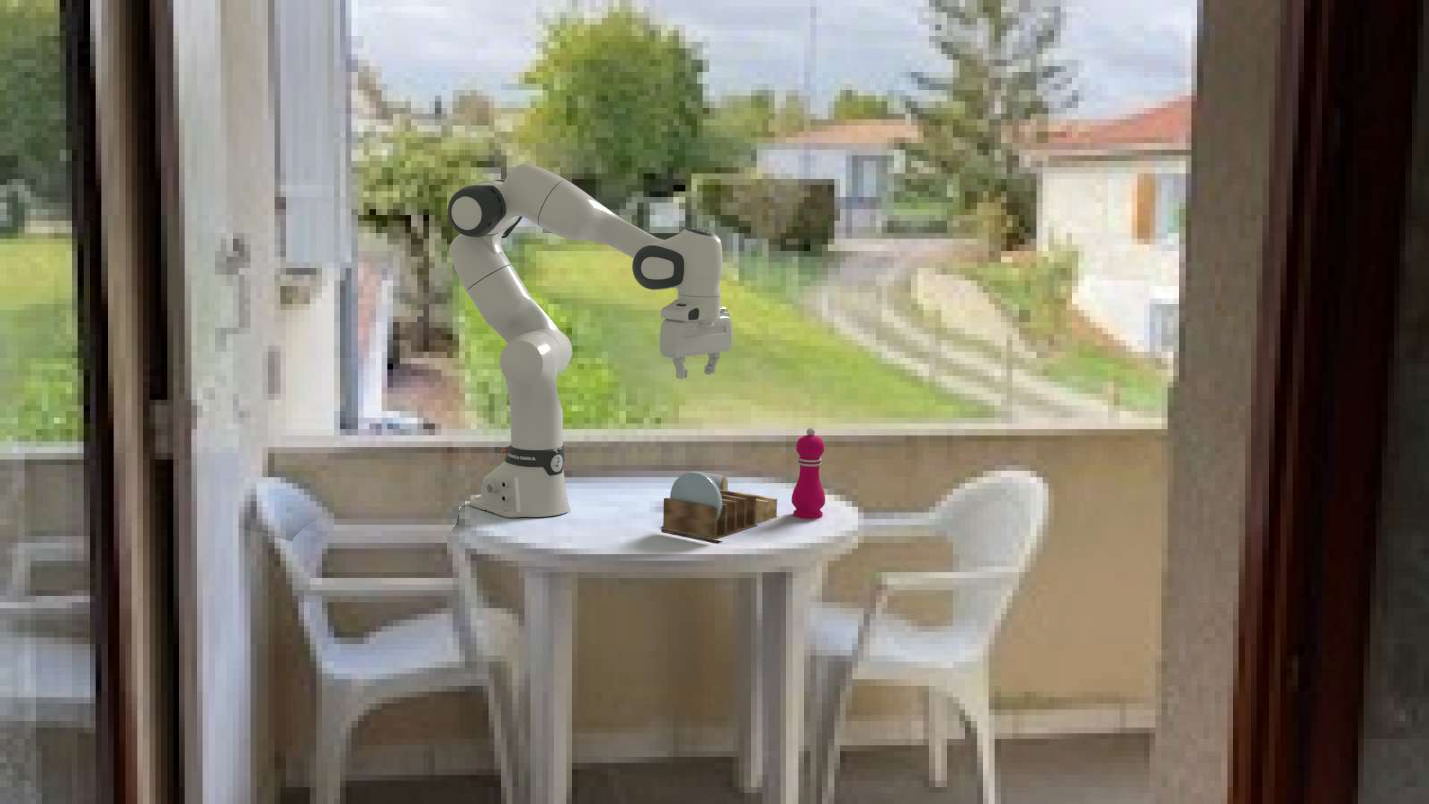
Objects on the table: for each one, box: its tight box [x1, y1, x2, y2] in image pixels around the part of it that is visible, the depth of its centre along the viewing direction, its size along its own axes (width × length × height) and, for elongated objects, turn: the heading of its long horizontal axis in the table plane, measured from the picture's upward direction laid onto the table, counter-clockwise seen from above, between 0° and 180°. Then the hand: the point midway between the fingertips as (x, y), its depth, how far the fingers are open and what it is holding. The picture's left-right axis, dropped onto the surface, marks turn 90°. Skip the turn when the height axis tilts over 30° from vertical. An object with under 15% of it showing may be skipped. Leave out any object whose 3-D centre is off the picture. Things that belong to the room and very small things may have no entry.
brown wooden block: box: [737, 491, 780, 522], centre depth 312 cm, size 10×6×5 cm, turn 54°
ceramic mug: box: [691, 470, 729, 491], centre depth 325 cm, size 11×8×8 cm
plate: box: [669, 471, 722, 521], centre depth 297 cm, size 12×2×12 cm, turn 54°
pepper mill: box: [791, 427, 826, 520], centre depth 312 cm, size 7×7×20 cm
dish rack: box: [660, 489, 758, 545], centre depth 301 cm, size 14×14×7 cm
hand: (695, 376), depth 300 cm, fingers open, 8 cm apart
